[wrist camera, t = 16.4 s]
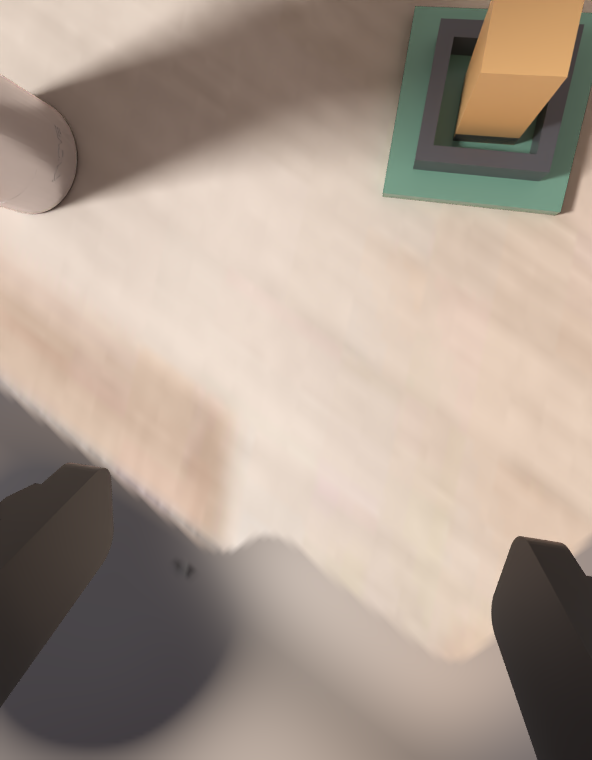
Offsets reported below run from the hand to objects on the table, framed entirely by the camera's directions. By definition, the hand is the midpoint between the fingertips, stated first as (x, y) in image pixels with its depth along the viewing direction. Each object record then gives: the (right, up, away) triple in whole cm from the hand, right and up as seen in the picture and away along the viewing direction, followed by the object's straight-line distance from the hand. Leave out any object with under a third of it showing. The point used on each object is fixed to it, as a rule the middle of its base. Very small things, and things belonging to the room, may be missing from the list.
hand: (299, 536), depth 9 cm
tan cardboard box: (+13, +21, +21) cm, 33 cm away
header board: (+13, +22, +22) cm, 34 cm away
